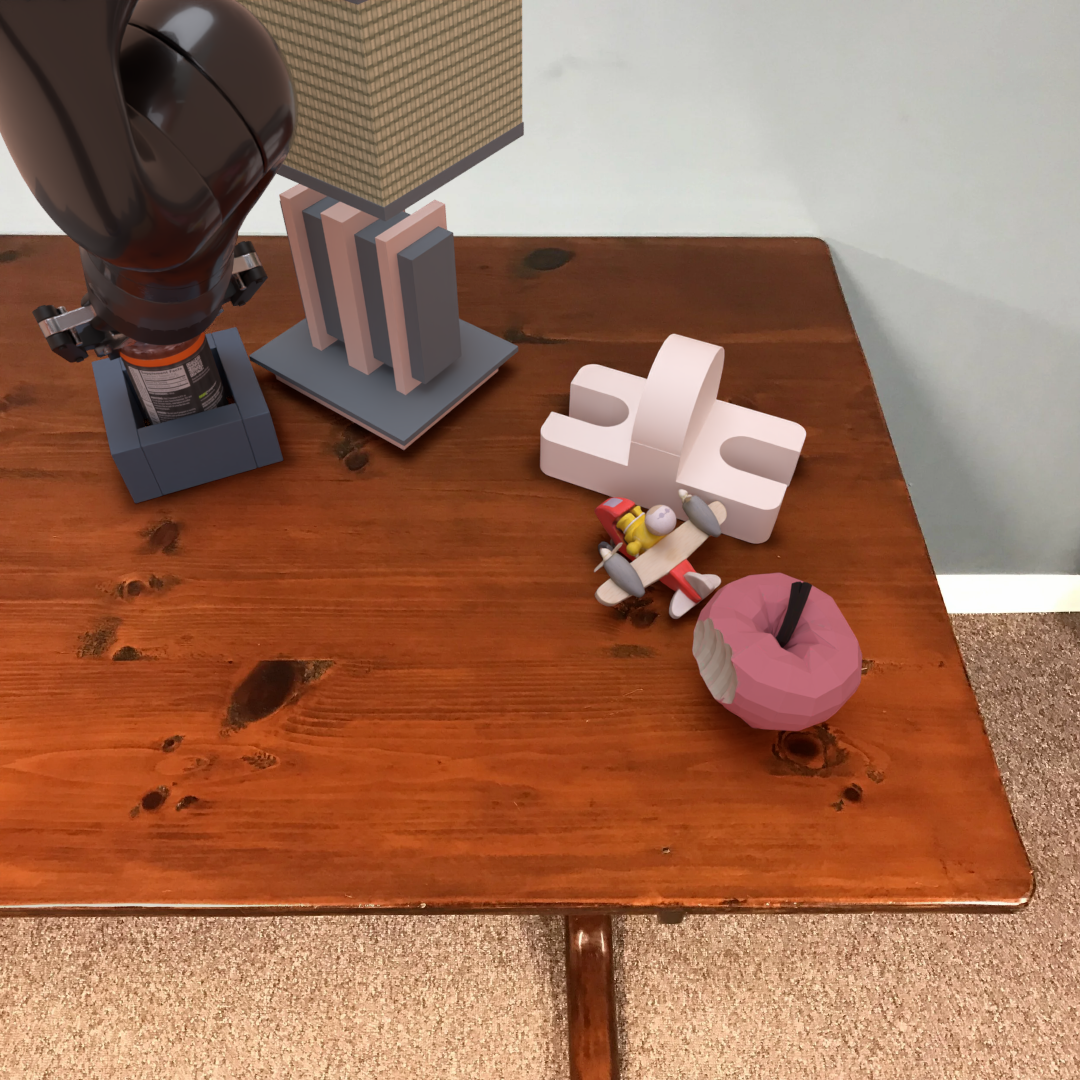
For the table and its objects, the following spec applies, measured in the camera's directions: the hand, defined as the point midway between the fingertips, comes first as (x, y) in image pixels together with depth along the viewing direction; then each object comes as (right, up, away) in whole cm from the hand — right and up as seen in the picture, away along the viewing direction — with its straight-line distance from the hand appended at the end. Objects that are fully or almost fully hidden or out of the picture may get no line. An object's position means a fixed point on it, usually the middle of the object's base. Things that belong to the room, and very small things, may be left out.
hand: (153, 329), depth 64 cm
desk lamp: (+15, -1, +11) cm, 19 cm away
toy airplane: (+36, -18, -2) cm, 40 cm away
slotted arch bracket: (+37, -9, +5) cm, 39 cm away
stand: (+1, -7, +6) cm, 9 cm away
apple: (+41, -25, -8) cm, 49 cm away
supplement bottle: (+1, -6, +5) cm, 8 cm away
